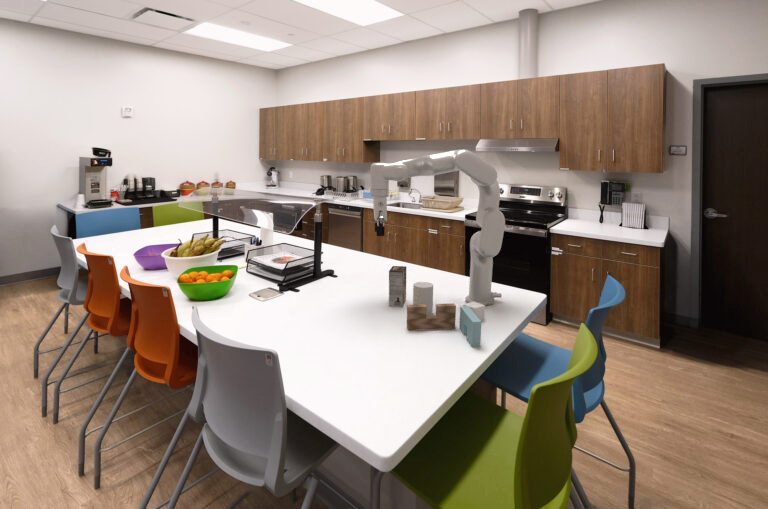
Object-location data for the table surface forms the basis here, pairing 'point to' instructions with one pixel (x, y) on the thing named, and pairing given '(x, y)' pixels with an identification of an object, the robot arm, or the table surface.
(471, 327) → the teal slotted board
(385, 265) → the table surface
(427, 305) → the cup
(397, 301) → the coffee box
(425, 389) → the table surface
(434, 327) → the walnut slotted board
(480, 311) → the white cube
